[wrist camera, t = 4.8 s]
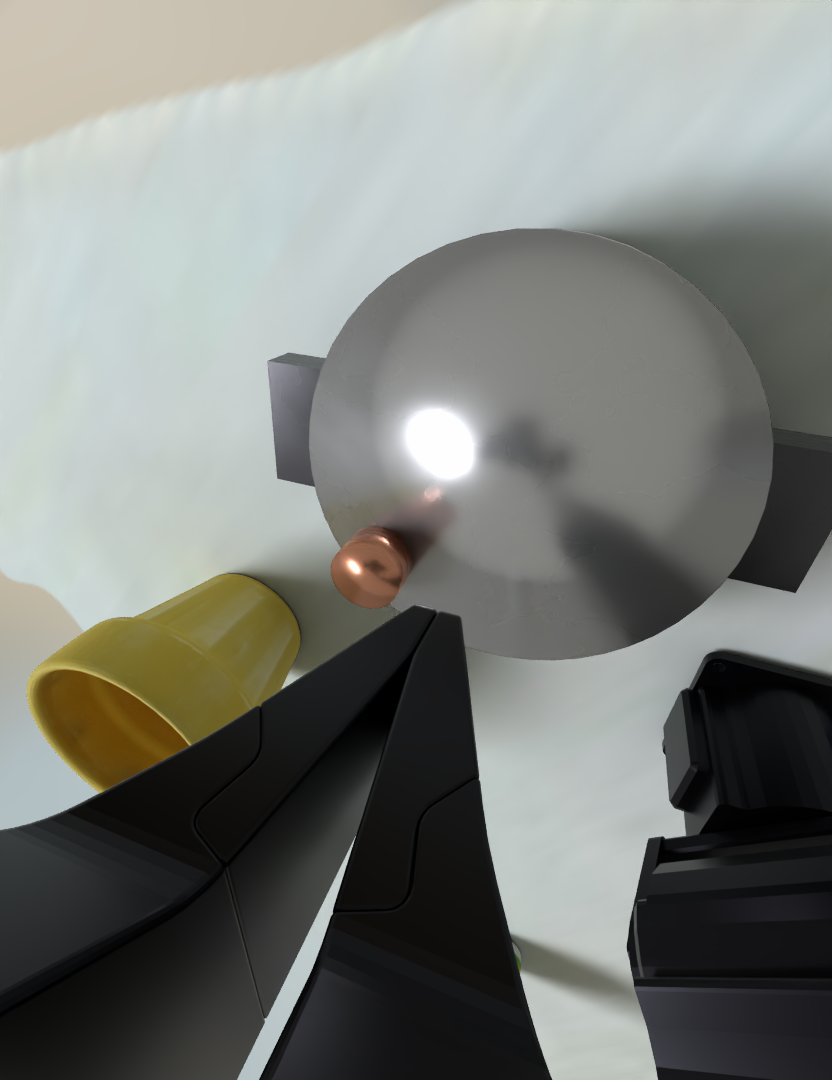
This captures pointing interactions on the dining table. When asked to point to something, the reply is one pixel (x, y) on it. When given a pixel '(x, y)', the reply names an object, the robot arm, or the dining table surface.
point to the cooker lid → (540, 444)
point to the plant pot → (163, 677)
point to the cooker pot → (770, 560)
